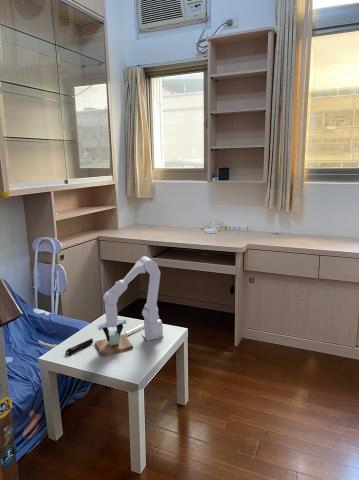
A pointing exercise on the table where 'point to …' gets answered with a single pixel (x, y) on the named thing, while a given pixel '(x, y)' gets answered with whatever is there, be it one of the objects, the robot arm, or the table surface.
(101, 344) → the stub board
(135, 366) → the table surface
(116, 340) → the mint green cube
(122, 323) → the robot arm
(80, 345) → the electric trimmer
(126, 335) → the marker
